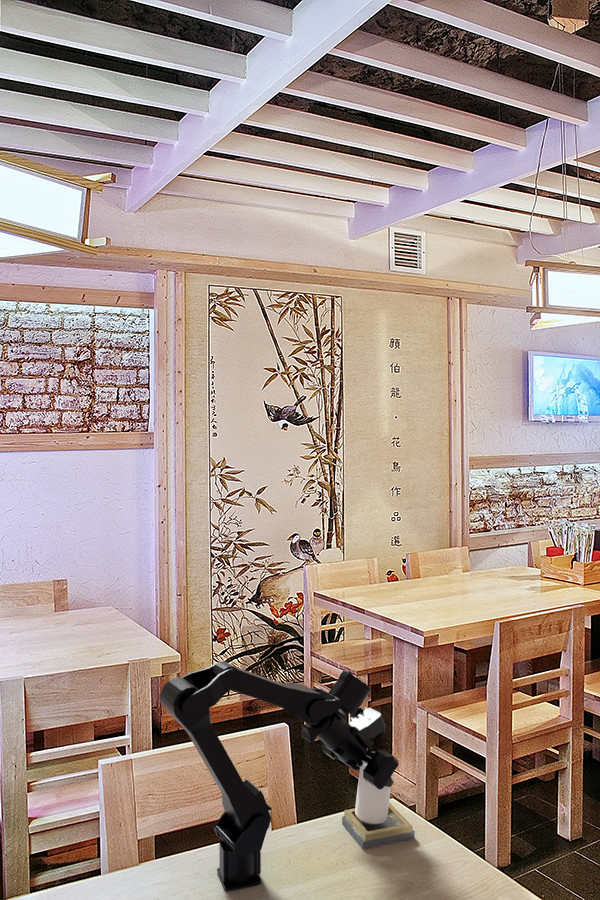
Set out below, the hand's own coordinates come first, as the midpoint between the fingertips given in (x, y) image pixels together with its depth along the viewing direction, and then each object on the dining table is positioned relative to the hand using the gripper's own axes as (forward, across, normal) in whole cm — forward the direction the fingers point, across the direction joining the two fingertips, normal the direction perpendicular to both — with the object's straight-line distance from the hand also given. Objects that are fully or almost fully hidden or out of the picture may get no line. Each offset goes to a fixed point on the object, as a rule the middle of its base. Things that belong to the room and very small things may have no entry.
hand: (382, 778), depth 150 cm
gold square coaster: (+6, 0, +8) cm, 10 cm away
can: (+4, +1, +7) cm, 8 cm away
